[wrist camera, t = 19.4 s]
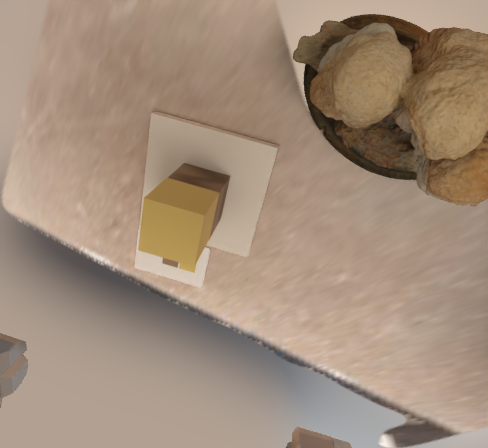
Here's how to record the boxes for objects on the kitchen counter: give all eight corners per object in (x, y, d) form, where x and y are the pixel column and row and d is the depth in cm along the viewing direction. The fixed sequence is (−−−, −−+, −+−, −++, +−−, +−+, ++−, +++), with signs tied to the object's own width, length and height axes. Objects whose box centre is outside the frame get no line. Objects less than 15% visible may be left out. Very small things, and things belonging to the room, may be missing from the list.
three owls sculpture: (266, 100, 34) (228, 138, 19) (346, -28, 29) (382, -116, 14) (414, 203, 36) (487, 312, 21) (515, 100, 31) (711, 146, 16)
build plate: (279, 145, 36) (278, 148, 35) (249, 252, 42) (247, 257, 41) (155, 111, 36) (151, 113, 35) (143, 221, 42) (139, 225, 41)
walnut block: (230, 175, 37) (219, 193, 32) (221, 218, 39) (209, 239, 35) (184, 162, 37) (166, 178, 33) (177, 205, 39) (160, 225, 35)
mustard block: (219, 192, 32) (204, 215, 28) (209, 239, 35) (194, 267, 30) (166, 177, 33) (144, 197, 28) (160, 224, 35) (138, 250, 31)
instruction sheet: (210, 248, 43) (210, 249, 42) (202, 287, 45) (201, 288, 45) (138, 227, 43) (138, 227, 43) (134, 267, 46) (134, 268, 46)
